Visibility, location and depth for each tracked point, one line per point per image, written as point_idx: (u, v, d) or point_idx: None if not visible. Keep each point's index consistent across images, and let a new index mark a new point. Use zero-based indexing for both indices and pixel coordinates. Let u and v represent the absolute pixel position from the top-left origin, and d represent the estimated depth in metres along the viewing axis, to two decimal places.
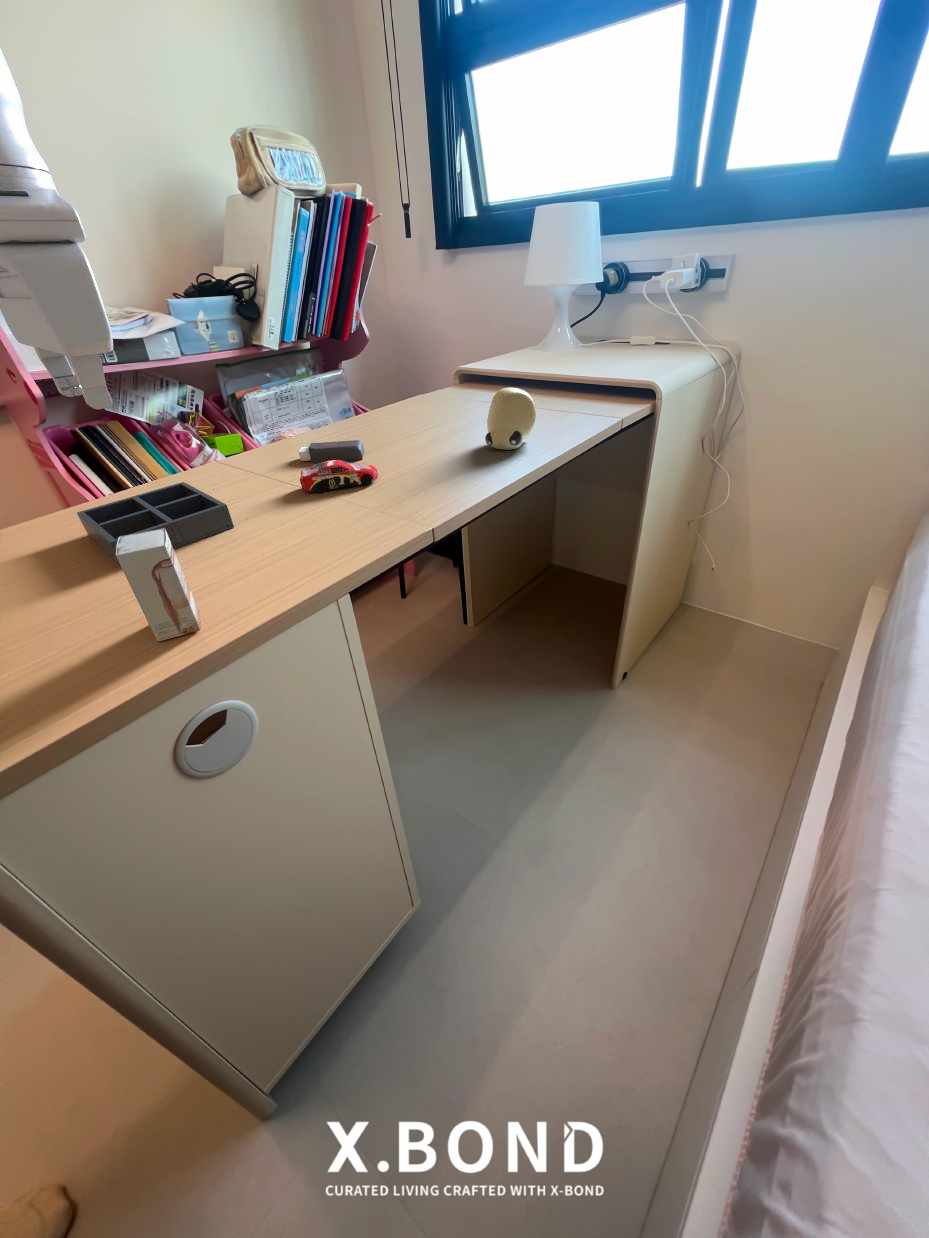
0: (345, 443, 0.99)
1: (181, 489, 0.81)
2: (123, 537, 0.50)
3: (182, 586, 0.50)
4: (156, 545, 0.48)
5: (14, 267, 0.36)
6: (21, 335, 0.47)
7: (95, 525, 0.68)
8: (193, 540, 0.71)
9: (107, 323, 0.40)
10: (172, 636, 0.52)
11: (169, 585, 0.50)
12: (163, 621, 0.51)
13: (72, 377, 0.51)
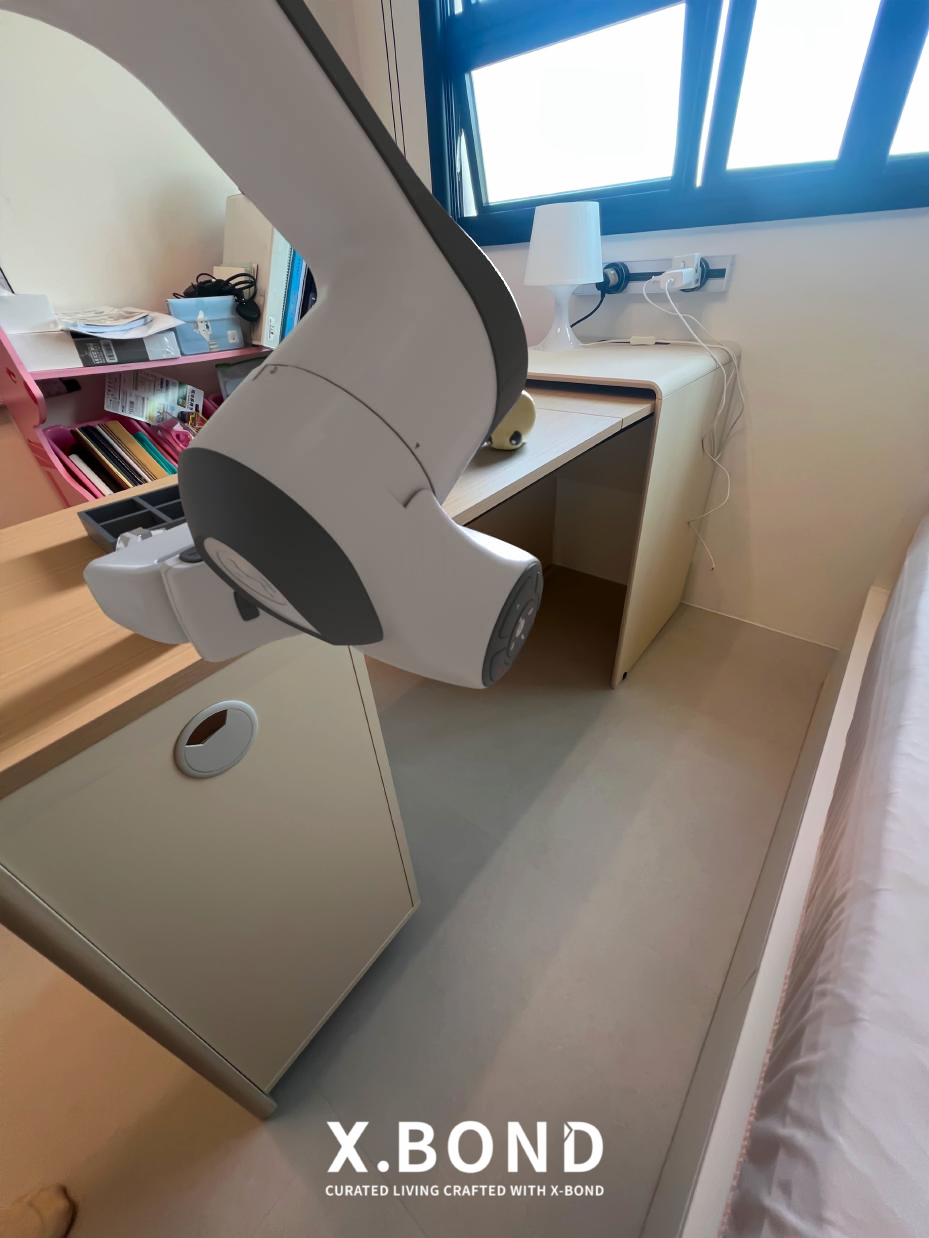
0: None
1: None
2: None
3: None
4: None
5: (140, 571, 0.28)
6: None
7: (95, 525, 0.68)
8: None
9: None
10: None
11: None
12: None
13: None
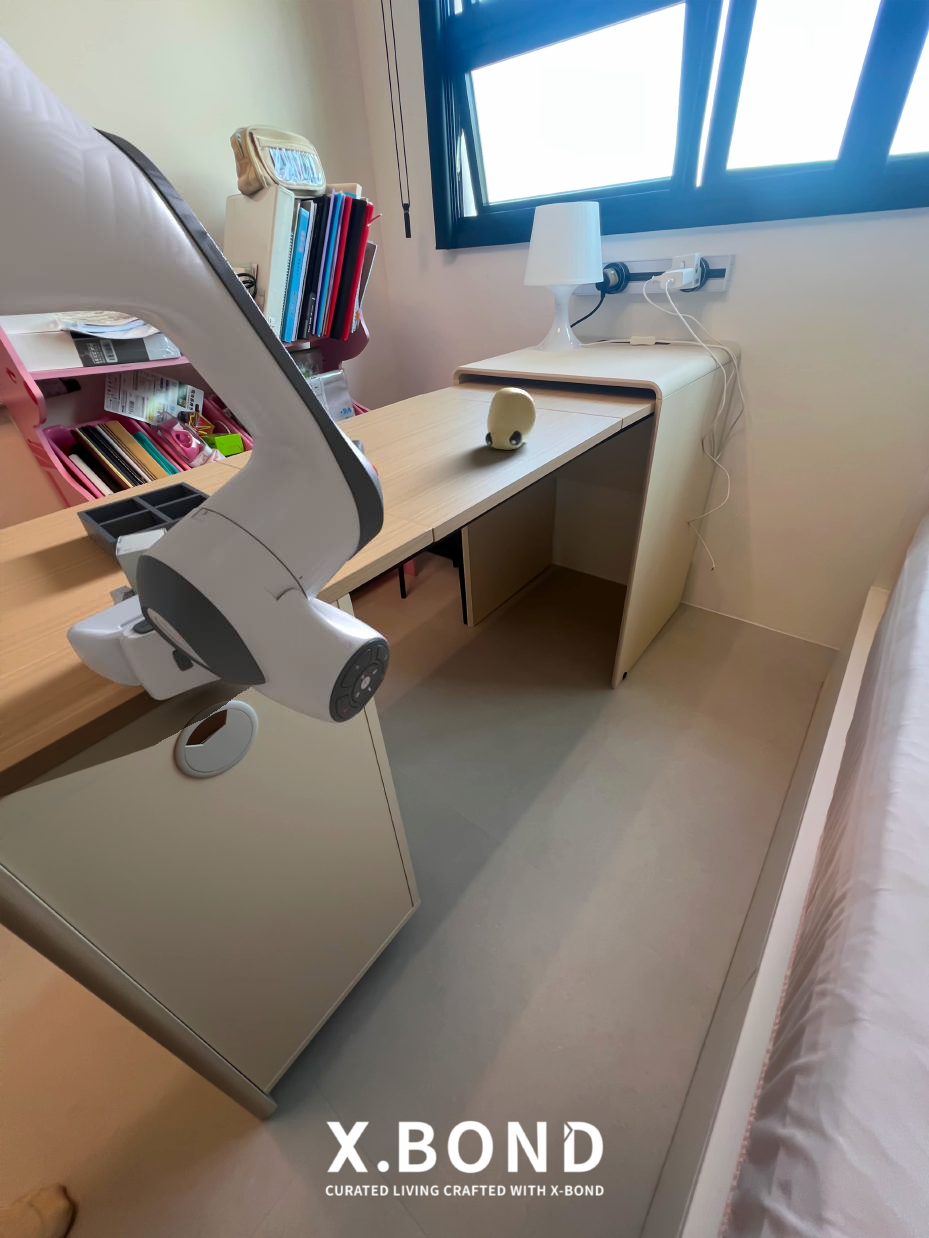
0: None
1: (181, 489, 0.81)
2: (124, 537, 0.50)
3: None
4: None
5: (106, 637, 0.40)
6: None
7: (95, 525, 0.68)
8: None
9: None
10: None
11: None
12: None
13: None
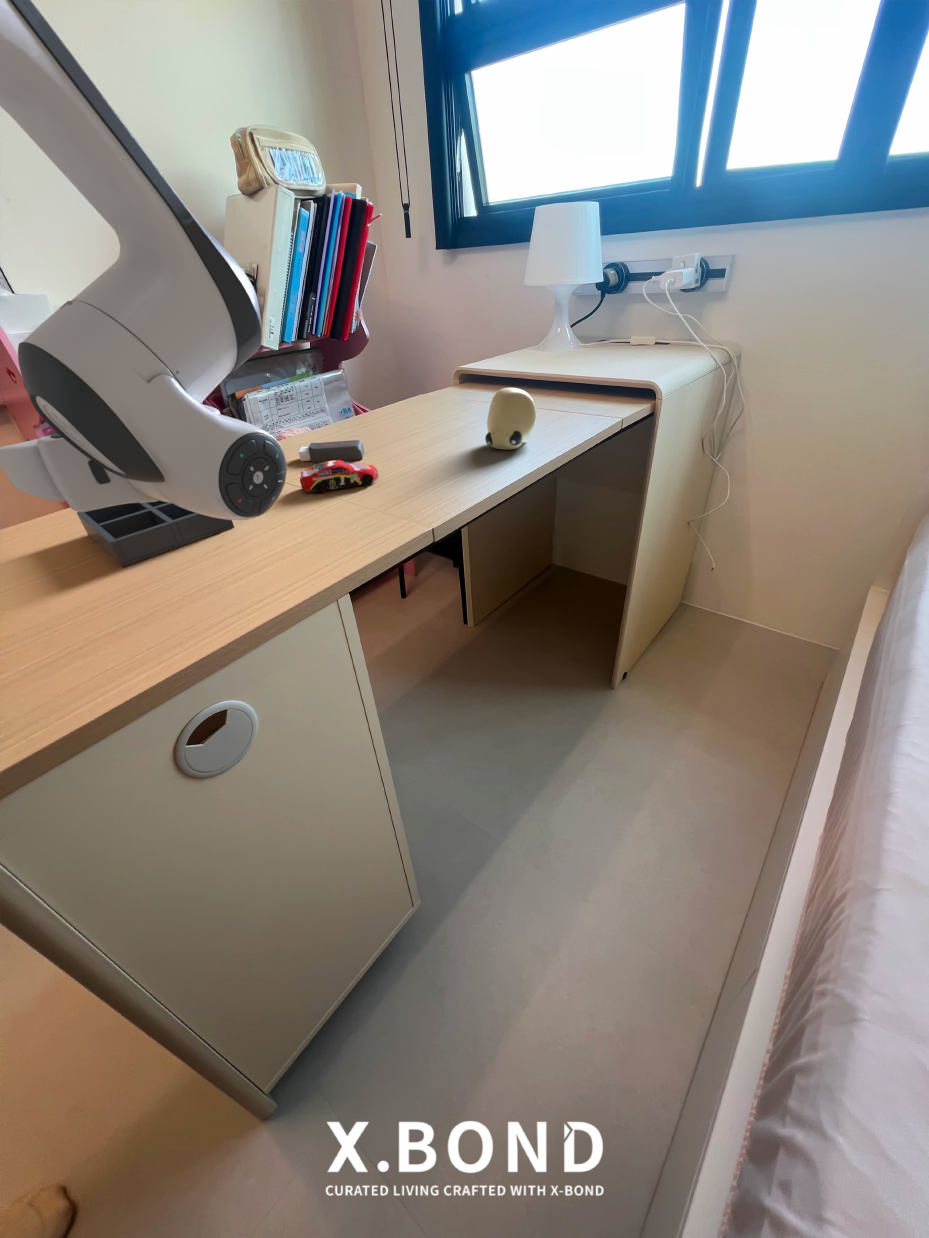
0: (345, 443, 0.99)
1: None
2: None
3: None
4: None
5: (27, 446, 0.43)
6: None
7: (95, 525, 0.68)
8: (193, 540, 0.71)
9: (20, 490, 0.47)
10: None
11: None
12: None
13: None
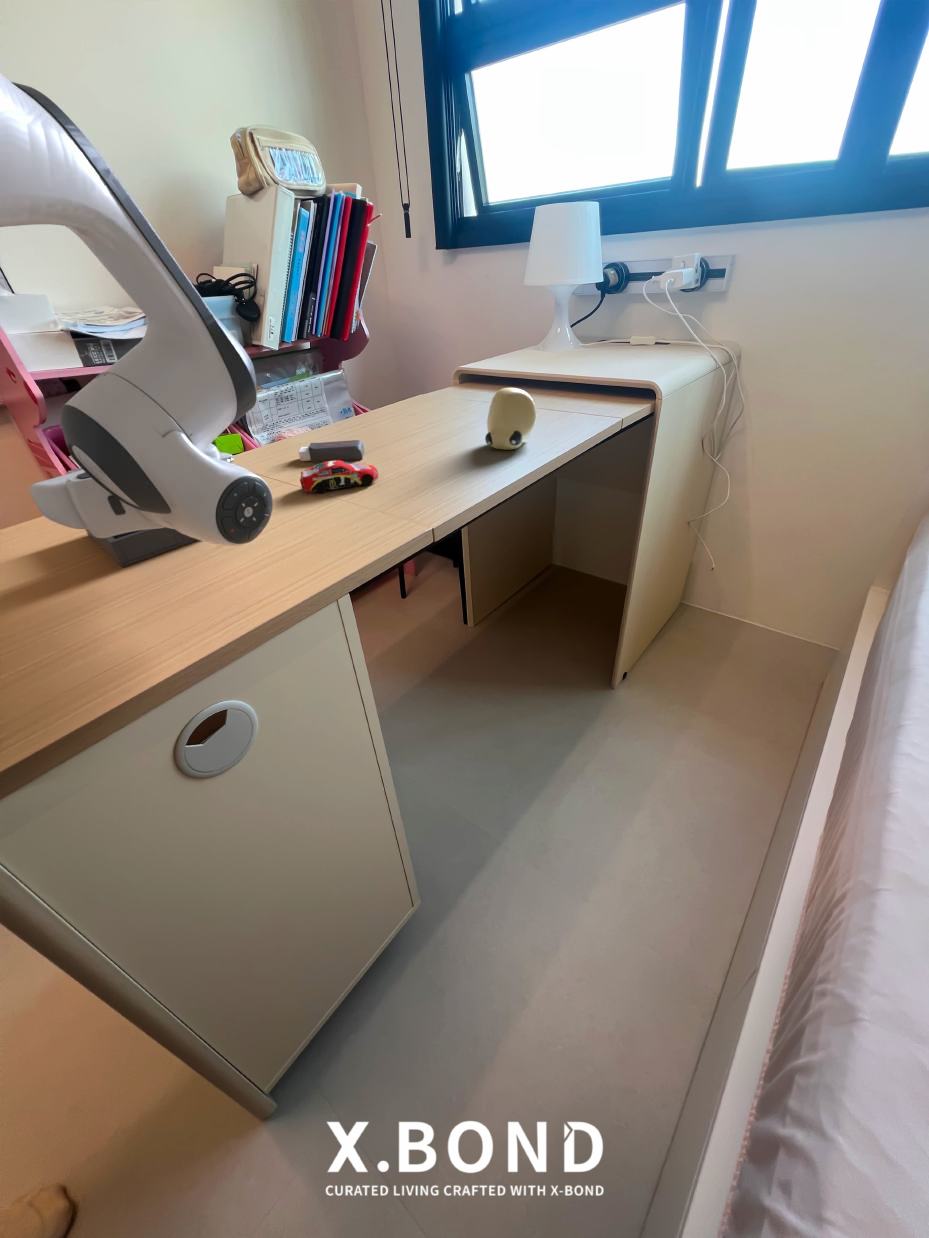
0: (345, 443, 0.99)
1: None
2: None
3: None
4: None
5: (57, 484, 0.52)
6: None
7: None
8: (193, 540, 0.71)
9: (49, 519, 0.56)
10: None
11: None
12: None
13: None
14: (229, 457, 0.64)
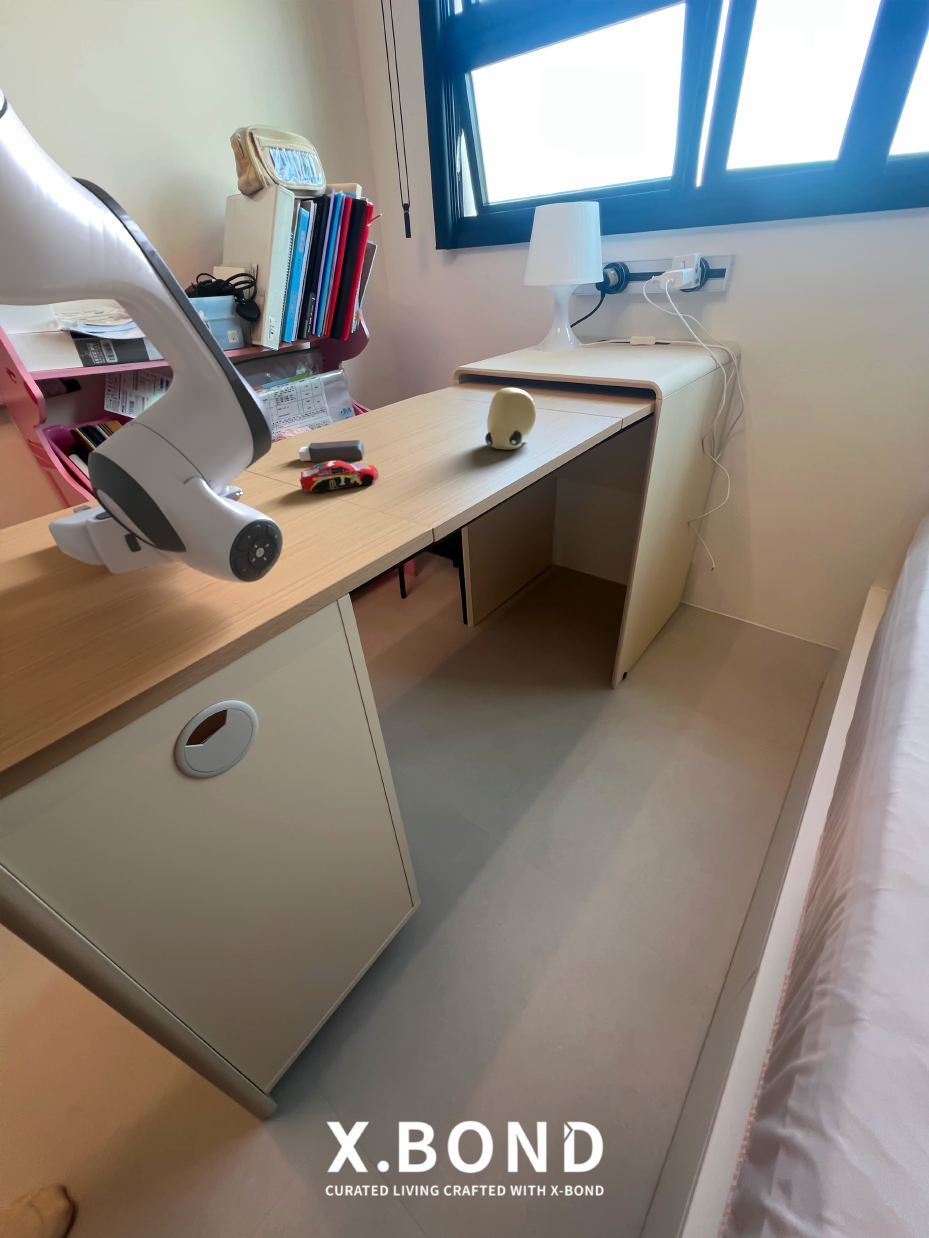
0: (345, 443, 0.99)
1: None
2: None
3: None
4: None
5: (76, 524, 0.55)
6: None
7: None
8: None
9: (67, 554, 0.58)
10: None
11: None
12: None
13: None
14: (238, 491, 0.67)
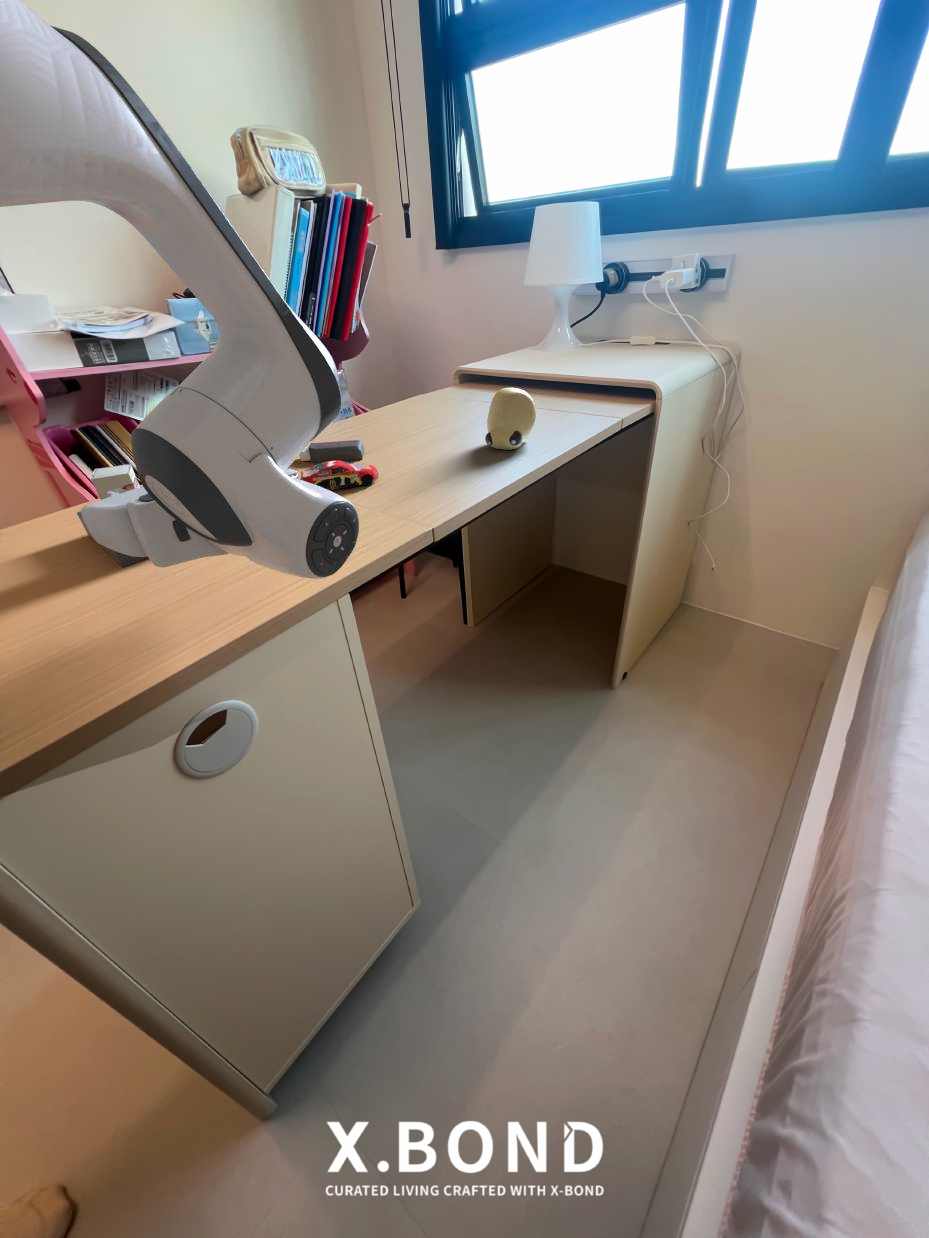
0: (345, 443, 0.99)
1: None
2: (98, 469, 0.65)
3: None
4: (122, 473, 0.63)
5: (115, 507, 0.46)
6: None
7: None
8: None
9: (101, 544, 0.49)
10: None
11: None
12: None
13: None
14: (293, 473, 0.58)
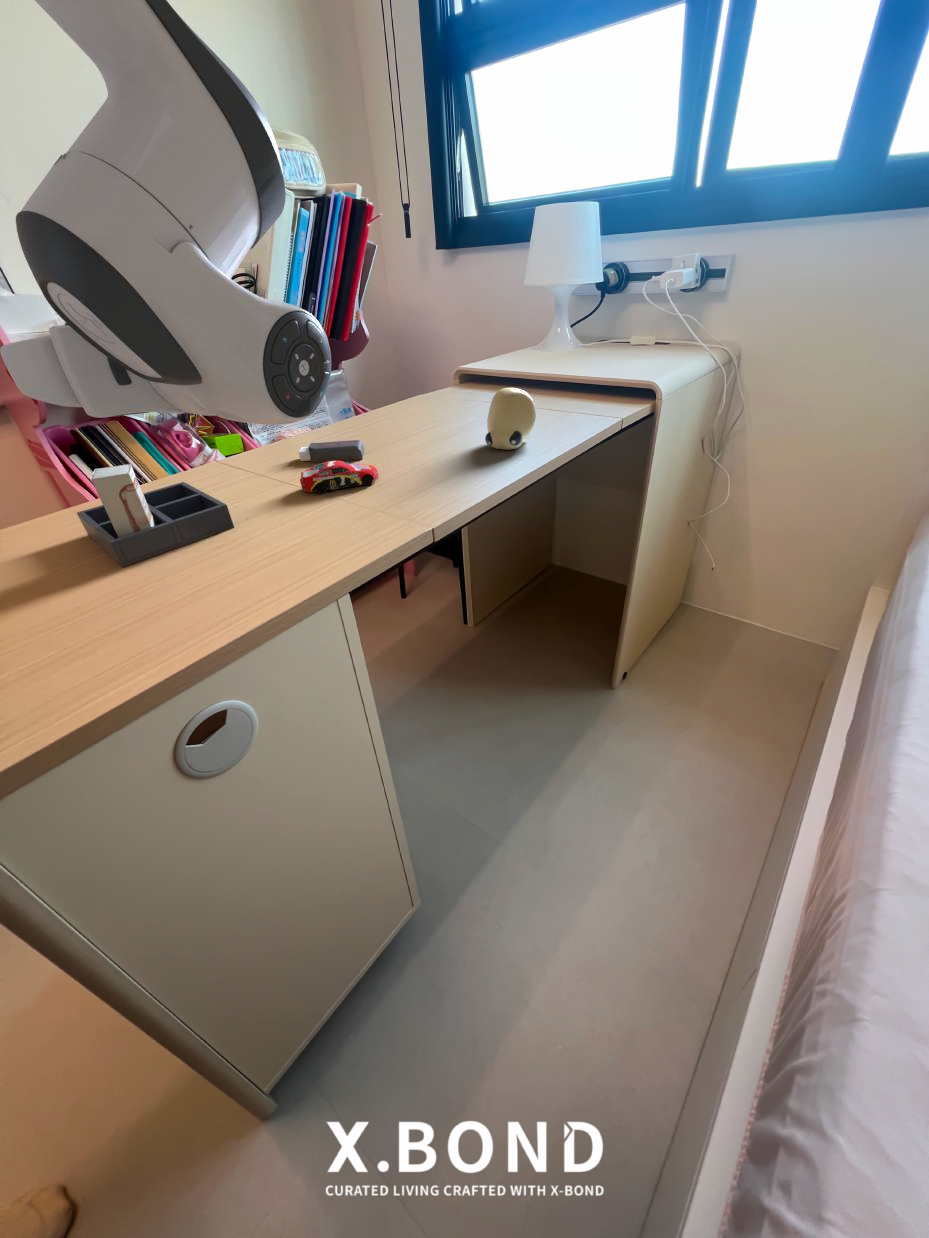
0: (345, 443, 0.99)
1: (181, 489, 0.81)
2: (98, 469, 0.65)
3: (143, 507, 0.66)
4: (122, 473, 0.63)
5: (37, 337, 0.38)
6: None
7: (95, 525, 0.68)
8: (193, 540, 0.71)
9: (28, 396, 0.41)
10: None
11: (132, 505, 0.65)
12: None
13: None
14: None
